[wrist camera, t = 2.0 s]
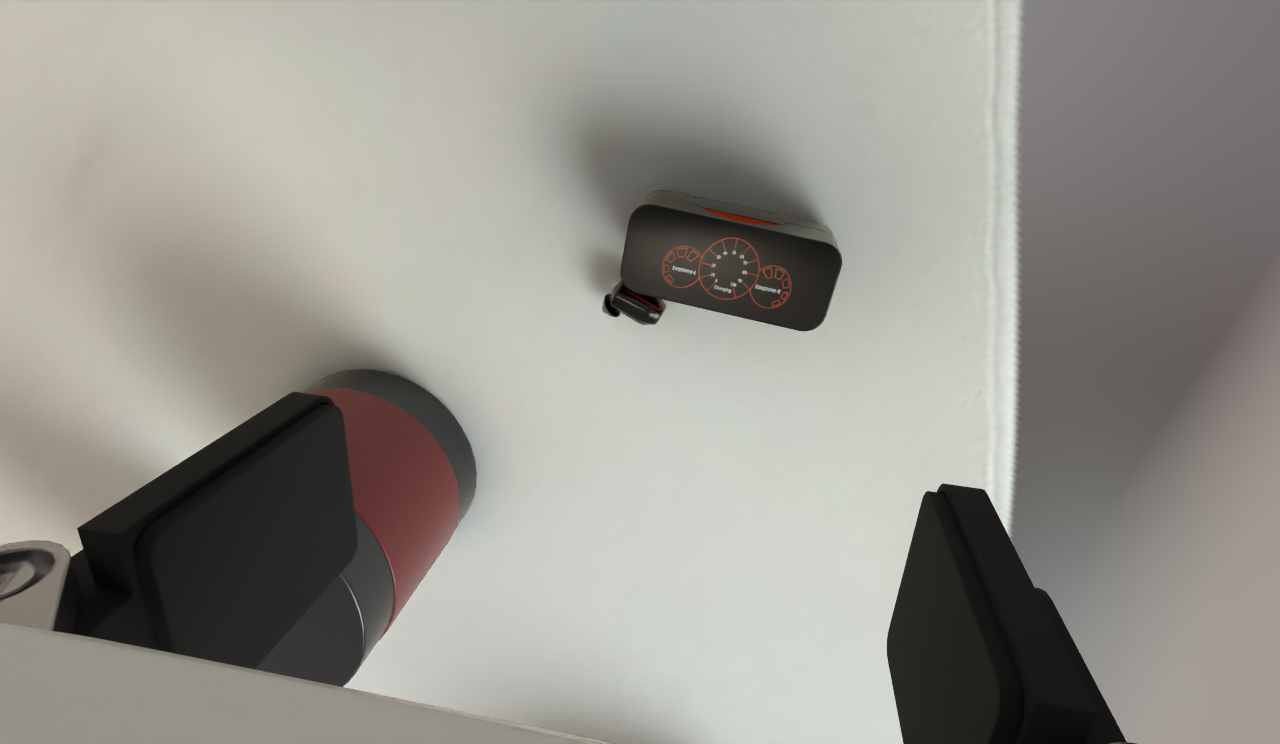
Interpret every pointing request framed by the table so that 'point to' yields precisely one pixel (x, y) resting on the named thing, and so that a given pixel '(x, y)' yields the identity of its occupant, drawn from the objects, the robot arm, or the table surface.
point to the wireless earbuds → (724, 263)
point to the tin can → (382, 520)
